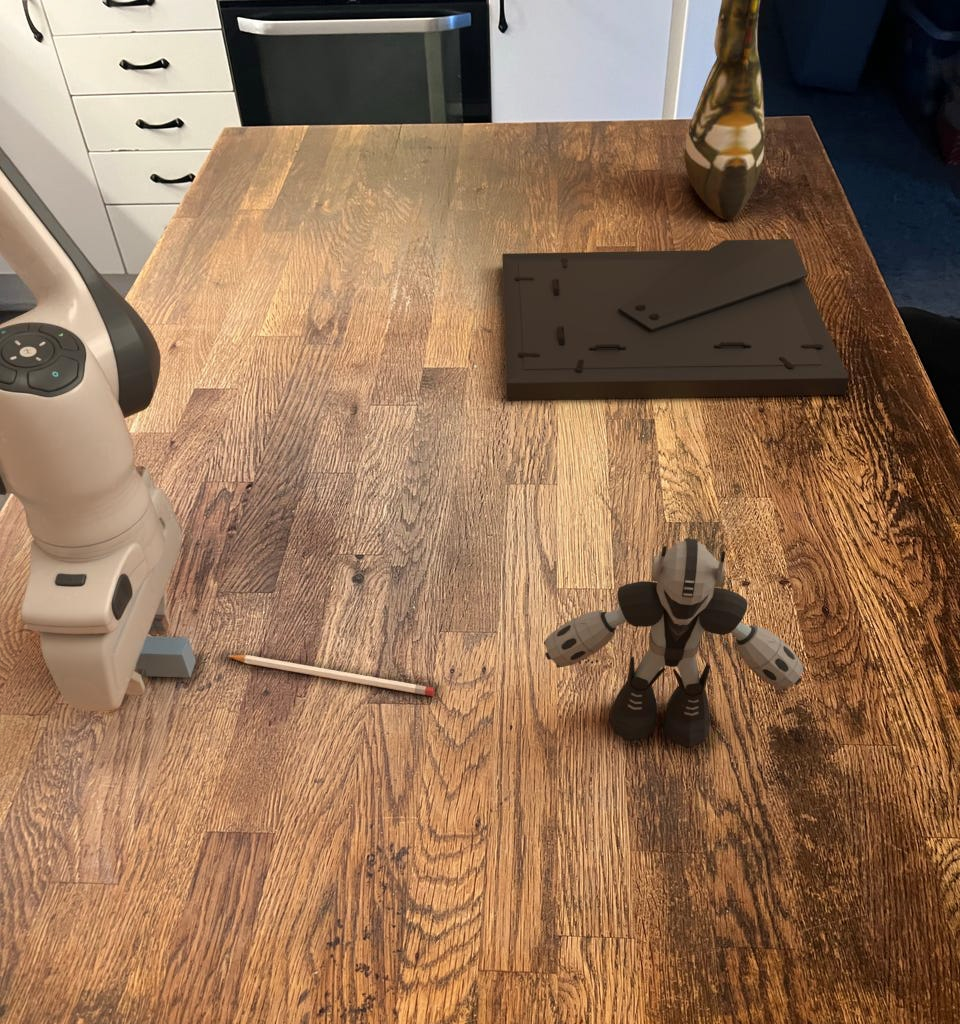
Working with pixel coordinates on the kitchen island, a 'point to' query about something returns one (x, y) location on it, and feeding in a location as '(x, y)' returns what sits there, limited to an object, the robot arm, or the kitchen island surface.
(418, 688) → the pencil
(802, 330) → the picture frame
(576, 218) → the kitchen island surface
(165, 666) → the grey mallet
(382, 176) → the kitchen island surface
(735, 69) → the statue
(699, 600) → the robot
